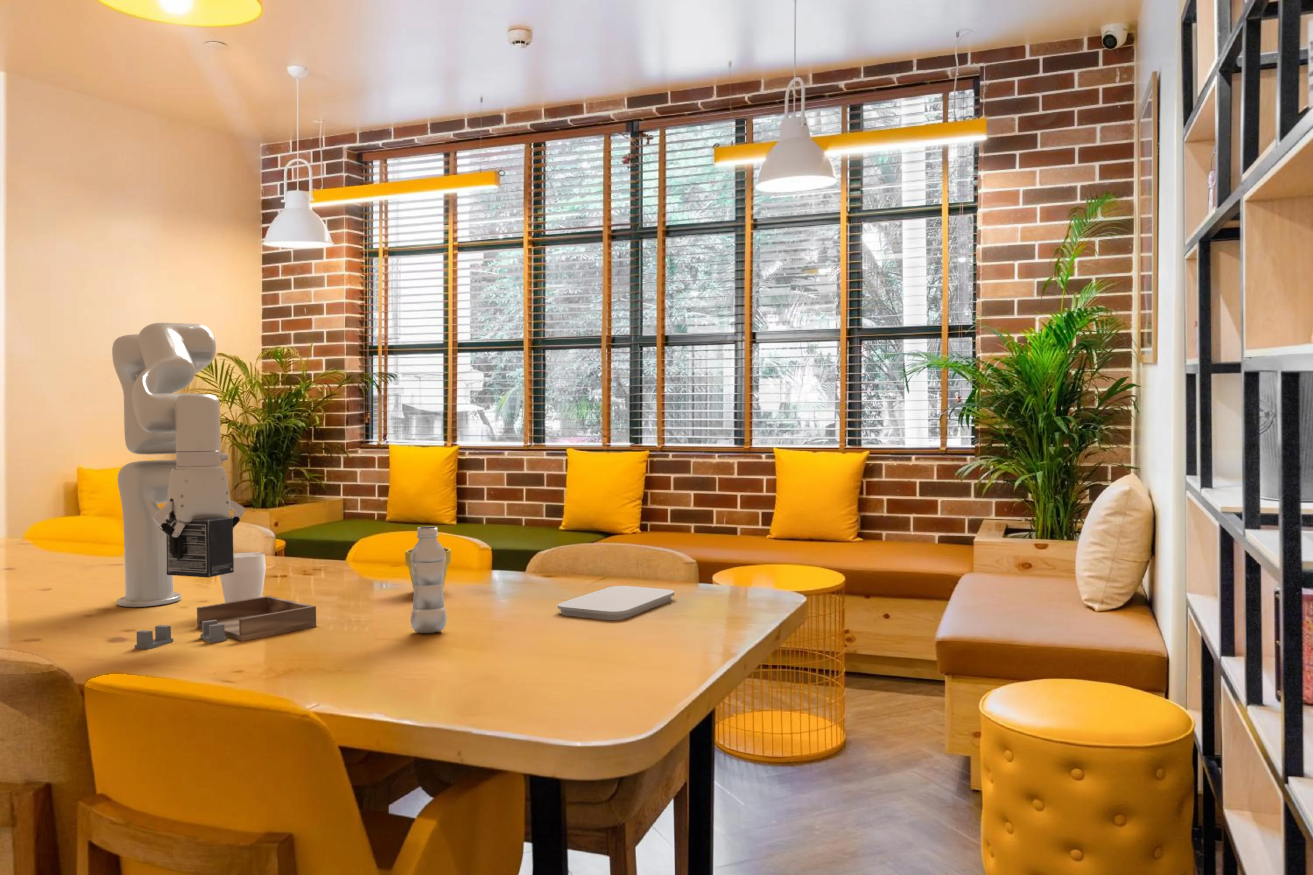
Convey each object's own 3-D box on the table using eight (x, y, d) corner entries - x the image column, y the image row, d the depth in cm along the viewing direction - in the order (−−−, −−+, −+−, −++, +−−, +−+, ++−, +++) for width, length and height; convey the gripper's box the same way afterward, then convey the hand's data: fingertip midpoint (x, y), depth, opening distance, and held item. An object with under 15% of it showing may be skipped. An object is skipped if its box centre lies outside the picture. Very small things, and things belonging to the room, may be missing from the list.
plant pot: (445, 595, 223) (445, 552, 223) (400, 595, 224) (399, 553, 223) (455, 587, 234) (455, 546, 234) (412, 587, 234) (411, 546, 234)
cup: (250, 616, 203) (248, 558, 202) (211, 615, 205) (209, 557, 204) (275, 607, 212) (274, 552, 211) (237, 606, 213) (236, 551, 213)
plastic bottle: (413, 629, 189) (411, 525, 189) (449, 628, 190) (447, 525, 189) (408, 636, 183) (406, 530, 182) (445, 635, 183) (443, 529, 183)
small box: (236, 572, 183) (235, 516, 183) (209, 578, 177) (208, 520, 177) (193, 569, 187) (191, 514, 187) (165, 575, 181) (163, 518, 180)
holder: (197, 627, 193) (196, 607, 193) (269, 614, 204) (269, 595, 204) (242, 640, 181) (241, 619, 181) (316, 626, 192) (315, 606, 192)
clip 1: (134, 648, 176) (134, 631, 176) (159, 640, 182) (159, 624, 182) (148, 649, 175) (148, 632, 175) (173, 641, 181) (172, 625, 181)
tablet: (551, 616, 201) (551, 605, 201) (616, 594, 224) (615, 584, 224) (620, 624, 194) (620, 612, 194) (679, 600, 217) (679, 590, 217)
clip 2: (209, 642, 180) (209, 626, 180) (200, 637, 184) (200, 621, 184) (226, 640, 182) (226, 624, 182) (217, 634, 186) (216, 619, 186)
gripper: (235, 458, 190) (237, 548, 191) (140, 462, 177) (143, 559, 178) (254, 459, 185) (256, 551, 186) (158, 463, 172) (160, 563, 173)
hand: (201, 554), depth 182 cm, fingers closed on small box, 8 cm apart
